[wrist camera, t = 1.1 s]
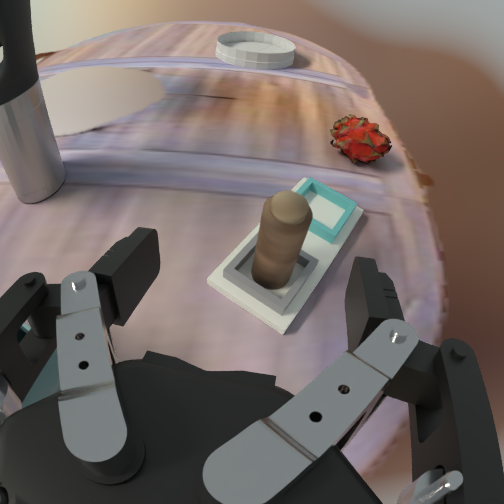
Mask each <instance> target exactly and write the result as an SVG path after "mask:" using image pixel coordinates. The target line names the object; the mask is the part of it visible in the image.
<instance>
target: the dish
mask: <svg viewBox="0 0 504 504" xmlns="http://www.w3.org/2000/svg"><path fill="white" fill-rule="evenodd" d="M249 39H250V40H249ZM294 52H295V45H294V44H293V43H292V42H290V41H289V40H287V39H284V38H282V37H279V36H275V35H271V34H266V33H259V32H231V33H226V34H223V35H221V36H219V37H218V38H217V47H216V56H217V57H218V58H219V59H220V60H222V61H224V62H226V63H229V64H232V65H235V66H240V67H245V68H253V69H281V68H286V67H289V66H291V65H292V64H293V62H294Z"/></svg>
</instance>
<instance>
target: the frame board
mask: <svg viewBox="0 0 504 504" xmlns="http://www.w3.org/2000/svg"><path fill="white" fill-rule="evenodd" d="M291 191H294V192H297V193H299V194H301V195H302V196H303V197H304V198H305V199H306V200H307V202H308V205H309V206H310V208H311V210H312V213H313V218H312V221H311V224H310V227H309V230H308V232H307V235H306V238H305V240H304V243H303V246H302V248H301V251H300V253H299V256H298V259H297V261H296V264H295V266H294V269H293V272H292V274H291V277H290V279H289V281H288V283H287V284H286V285H285V286H284V287H282V288H280V289H277V290H268V289H265V288H263V287H262V286H260V285H259V284H257V283H256V282H255V281H254V280H253V278H252V274H251V268H252V263H253V258H254V253H255V248H256V243H257V238H258V233H259V227H260V223H259V224H258V225H257V226H256V227H255V229H254V230H253V231H252V232H251V233H250V234H249V235H248V236H247V237H246V238H245V239H244V240H243V241H242V242H241V243H240V244H239V245H238V246H237V247H236V249H235V250H234V251H233V252H232V253H231V254H230V255H229V256H228V257H227V258H226V259H225V260H224V261H223V262H222V263H221V264H220V265H219V266H218V268H217V269H216V270H215V271H214V272H213V273H212V274H211V275H210V276H209V277H208V278H207V284H208V285H210V286H211V287H213V288H214V289H215V290H217V291H218V292H220V293H221V294H223V295H224V296H226V297H227V298H228V299H230V300H231V301H233V302H234V303H236V304H237V305H239V306H240V307H242V308H243V309H245V310H246V311H248V312H249V313H251V314H252V315H254V316H255V317H257V318H258V319H260V320H261V321H263V322H264V323H266V324H267V325H269V326H270V327H272V328H273V329H275V330H276V331H278V332H279V333H281V334H282V335H283V334H284V333H285V331H286V330H287V328H288V327H289V325H290V324H291V323H292V321H293V320H294V318H295V317H296V315H297V314H298V313H299V311H300V310H301V308H302V307H303V305H304V304H305V302H306V301H307V299H308V298H309V296H310V295H311V293H312V292H313V290H314V289H315V287H316V286H317V284H318V283H319V281H320V280H321V278H322V277H323V275H324V274H325V272H326V271H327V269H328V268H329V266H330V265H331V263H332V261H333V260H334V258H335V257H336V255H337V254H338V252H339V250H340V249H341V247H342V246H343V244H344V243H345V241H346V239H347V238H348V236H349V235H350V233H351V231H352V230H353V228H354V226H355V225H356V223H357V221H358V220H359V218H360V217H361V215H362V213H363V211H364V210H362V209H361V208H359V207H357V206H356V205H357V203H356V202H354V201H352V200H351V199H349V198H347V197H345V196H344V195H342V194H340V193H338V192H336V191H335V190H333V189H331V188H329V187H327V186H326V185H324V184H322V183H320V182H318V181H316V180H315V179H313V178H311V177H309V178H308V179H307V178H305V177H303V178H302V180H301V181H300V182H299V183H298V184H297V185H296V186H295V187H294V188H293V189H292V190H291Z"/></svg>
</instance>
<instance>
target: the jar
mask: <svg viewBox="0 0 504 504" xmlns="http://www.w3.org/2000/svg"><path fill="white" fill-rule="evenodd" d="M312 218H313V213H312V210H311V208H310V206H309V205H308V202H307V200H306V199H305V198H304V197H303V196H302V195H301V194H299V193H297V192H294V191H280V192H278V193H276V194H275V195H274V196H272V197H270V198H269V199H267V200H266V202H265V204H264V207H263V212H262V217H261V222H260V227H259V233H258V238H257V243H256V248H255V253H254V258H253V263H252V268H251V274H252V278H253V280H254V281H255V282H256V283H257V284H259V285H260V286H262V287H263V288H265V289H268V290H277V289H280V288H282V287H284V286H285V285H286V284H287V283H288V281H289V279H290V277H291V274H292V272H293V269H294V266H295V264H296V261H297V259H298V256H299V253H300V251H301V248H302V246H303V243H304V240H305V238H306V235H307V232H308V230H309V227H310V224H311V221H312Z"/></svg>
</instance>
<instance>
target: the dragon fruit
mask: <svg viewBox="0 0 504 504" xmlns="http://www.w3.org/2000/svg"><path fill="white" fill-rule="evenodd" d="M349 116H350V117H351V118H349V117H347V116H345V117H344V118H342V119H341V120H338V121H337V122H334V126H333V129H334V130H333V129H332V130H331V129H330V131H331V135H332V136H333V137H334V138H335V140H336V144H333V141H334V140H333V139H332V141H331V143H330V144H331V145H332V146H333V147H335V148H340V149H341V152H342V154H347V155H348V156H349V158H350V160H352V161H353V162H352V163H356V162H357V161H358V160H357V159H359V160H361V161H364V162H365V163H367V164H369V163H372V162H375V161H376V160H374V159H377V158H380V157H384V154H386V153H388V152H389V151H390V149H391V147H392V145H391V146H390V145H389V143H391V141H390V139H389V137H388V136H386V135H384V134H382V133H381V132H380V131H379V125H378V124H377V123H372V124H371V123H369V122H368V119H367V118H364V117H362V118H356V116H355V115H352V114H350V115H349Z"/></svg>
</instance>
